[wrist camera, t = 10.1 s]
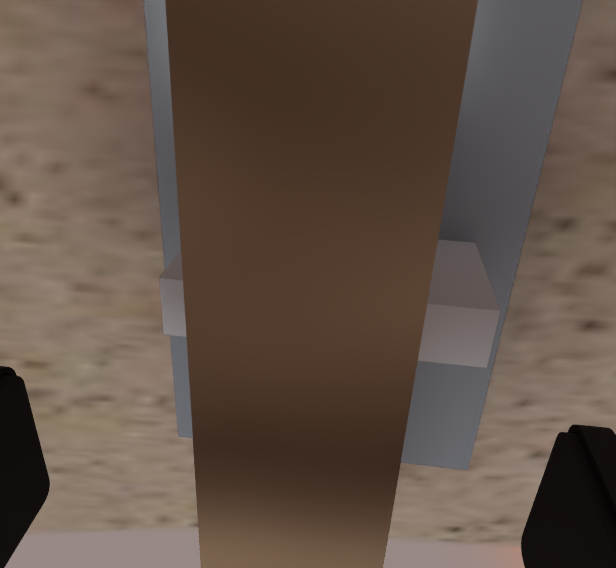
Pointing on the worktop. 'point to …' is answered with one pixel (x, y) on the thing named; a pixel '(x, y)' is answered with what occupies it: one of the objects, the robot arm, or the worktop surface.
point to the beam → (308, 258)
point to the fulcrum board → (454, 224)
